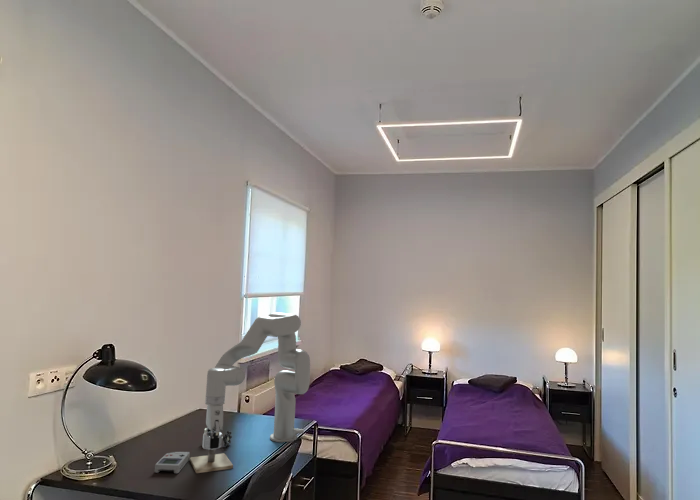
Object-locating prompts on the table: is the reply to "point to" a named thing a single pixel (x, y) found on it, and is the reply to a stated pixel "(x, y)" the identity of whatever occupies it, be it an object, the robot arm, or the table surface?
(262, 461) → the table surface
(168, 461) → the handheld gaming device
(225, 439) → the valve
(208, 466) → the shaft stand
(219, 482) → the table surface
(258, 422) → the table surface
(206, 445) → the hub
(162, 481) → the table surface
